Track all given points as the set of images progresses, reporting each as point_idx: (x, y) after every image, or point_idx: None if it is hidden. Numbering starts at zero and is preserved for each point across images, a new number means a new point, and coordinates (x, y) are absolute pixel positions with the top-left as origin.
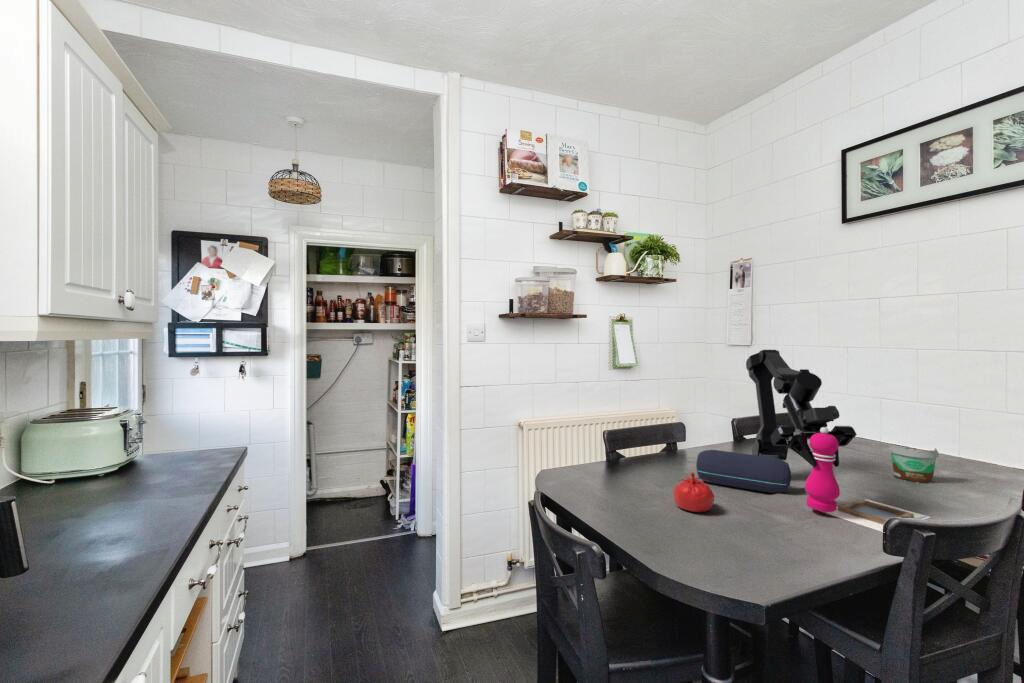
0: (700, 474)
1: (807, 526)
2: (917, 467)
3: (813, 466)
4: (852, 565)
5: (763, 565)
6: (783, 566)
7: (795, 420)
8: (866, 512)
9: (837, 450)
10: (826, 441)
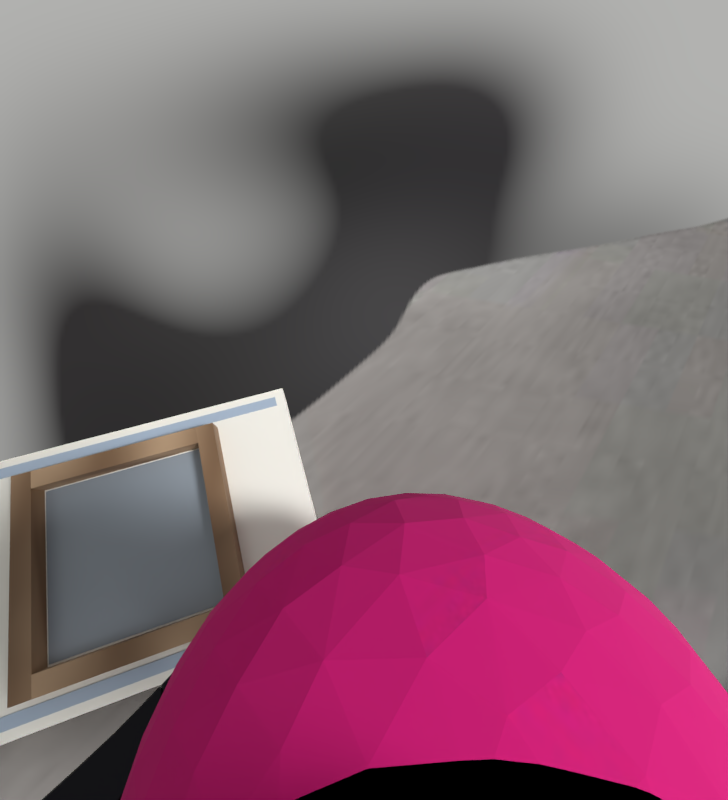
0: None
1: None
2: None
3: None
4: (514, 281)
5: (716, 315)
6: (673, 304)
7: None
8: (151, 567)
9: (152, 711)
10: (576, 545)
